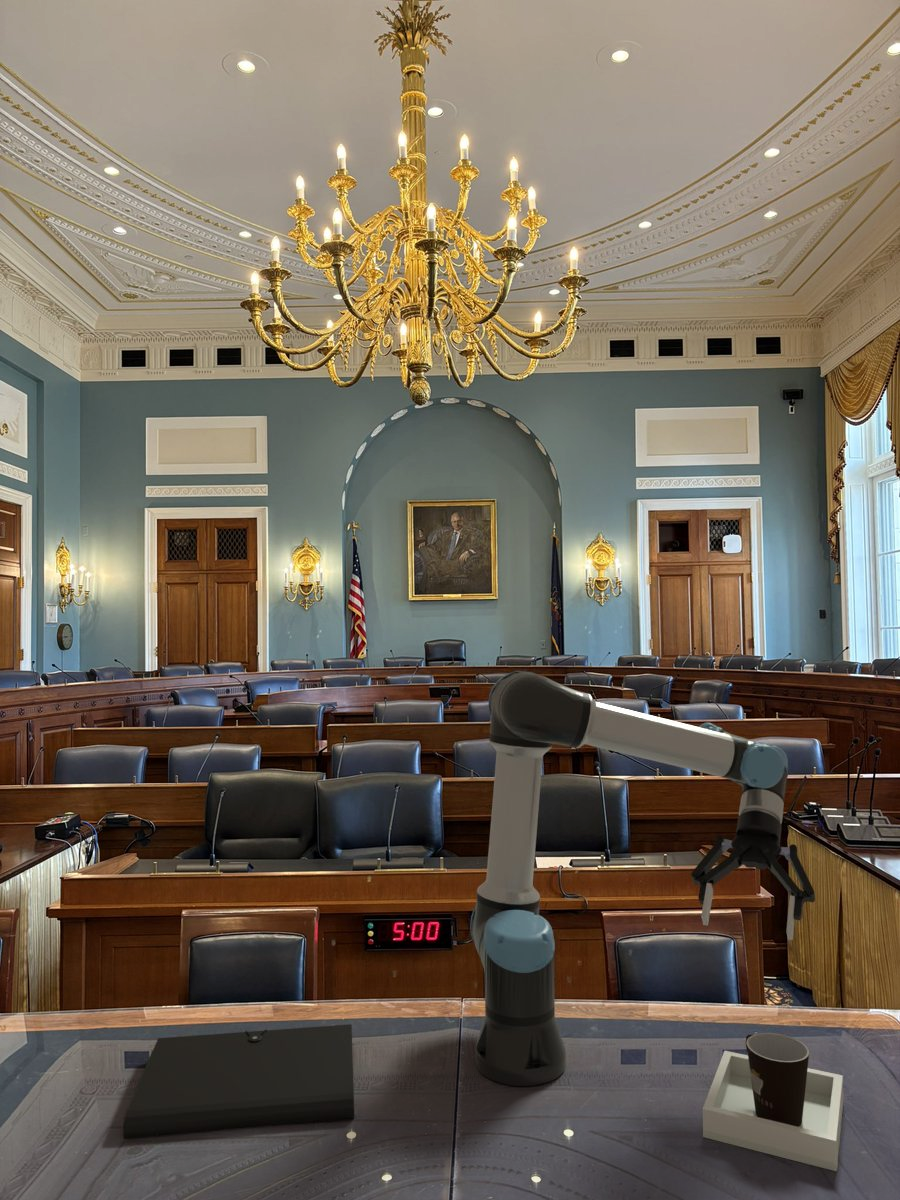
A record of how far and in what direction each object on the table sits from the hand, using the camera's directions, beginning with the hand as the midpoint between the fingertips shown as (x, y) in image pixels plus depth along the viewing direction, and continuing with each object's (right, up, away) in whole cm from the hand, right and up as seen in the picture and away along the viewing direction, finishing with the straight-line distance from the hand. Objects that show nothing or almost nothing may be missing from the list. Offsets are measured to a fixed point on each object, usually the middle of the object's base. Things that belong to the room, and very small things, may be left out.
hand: (746, 928), depth 143 cm
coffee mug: (-1, -21, -16) cm, 27 cm away
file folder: (-82, -24, -6) cm, 85 cm away
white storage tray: (-1, -22, -17) cm, 27 cm away
